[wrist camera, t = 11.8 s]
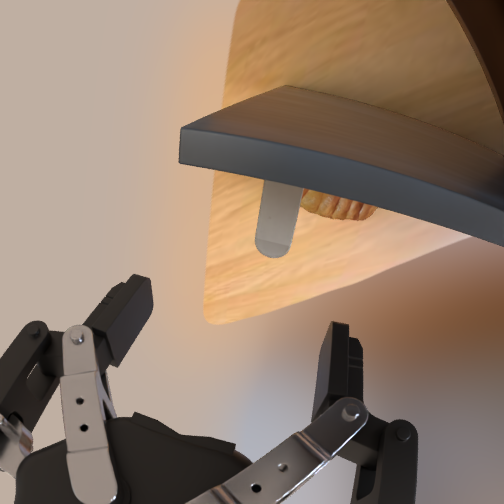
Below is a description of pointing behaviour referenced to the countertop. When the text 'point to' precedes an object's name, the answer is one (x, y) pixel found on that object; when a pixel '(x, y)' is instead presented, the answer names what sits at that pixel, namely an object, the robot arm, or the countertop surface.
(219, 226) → the countertop surface
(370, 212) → the pastry
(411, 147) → the door
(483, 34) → the cupboard
